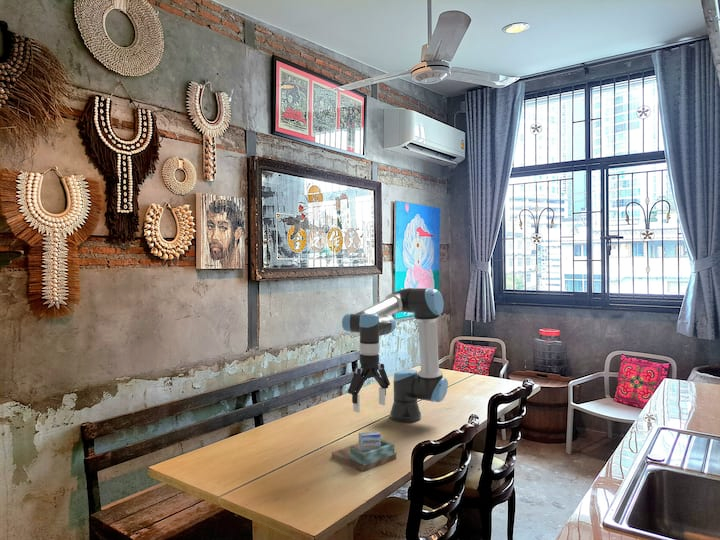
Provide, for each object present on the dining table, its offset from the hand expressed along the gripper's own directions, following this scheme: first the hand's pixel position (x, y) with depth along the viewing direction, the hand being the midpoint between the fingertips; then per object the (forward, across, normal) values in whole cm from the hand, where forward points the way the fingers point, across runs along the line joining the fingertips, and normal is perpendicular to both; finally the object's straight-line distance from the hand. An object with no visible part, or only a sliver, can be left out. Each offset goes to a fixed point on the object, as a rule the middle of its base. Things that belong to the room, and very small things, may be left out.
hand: (369, 408), depth 195 cm
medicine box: (+19, 0, 0) cm, 19 cm away
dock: (+21, 0, -3) cm, 21 cm away
